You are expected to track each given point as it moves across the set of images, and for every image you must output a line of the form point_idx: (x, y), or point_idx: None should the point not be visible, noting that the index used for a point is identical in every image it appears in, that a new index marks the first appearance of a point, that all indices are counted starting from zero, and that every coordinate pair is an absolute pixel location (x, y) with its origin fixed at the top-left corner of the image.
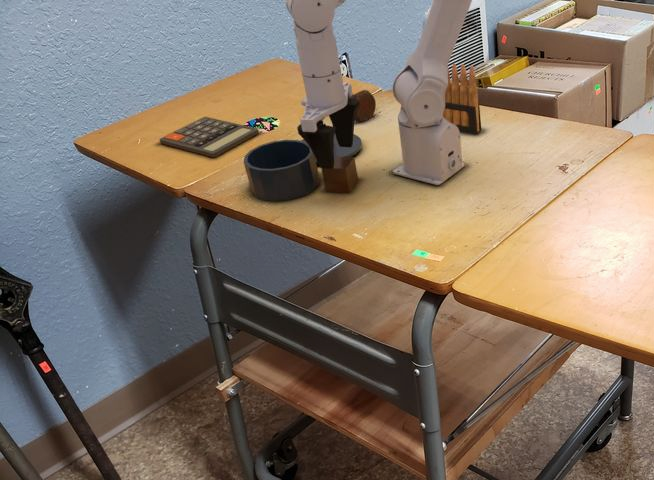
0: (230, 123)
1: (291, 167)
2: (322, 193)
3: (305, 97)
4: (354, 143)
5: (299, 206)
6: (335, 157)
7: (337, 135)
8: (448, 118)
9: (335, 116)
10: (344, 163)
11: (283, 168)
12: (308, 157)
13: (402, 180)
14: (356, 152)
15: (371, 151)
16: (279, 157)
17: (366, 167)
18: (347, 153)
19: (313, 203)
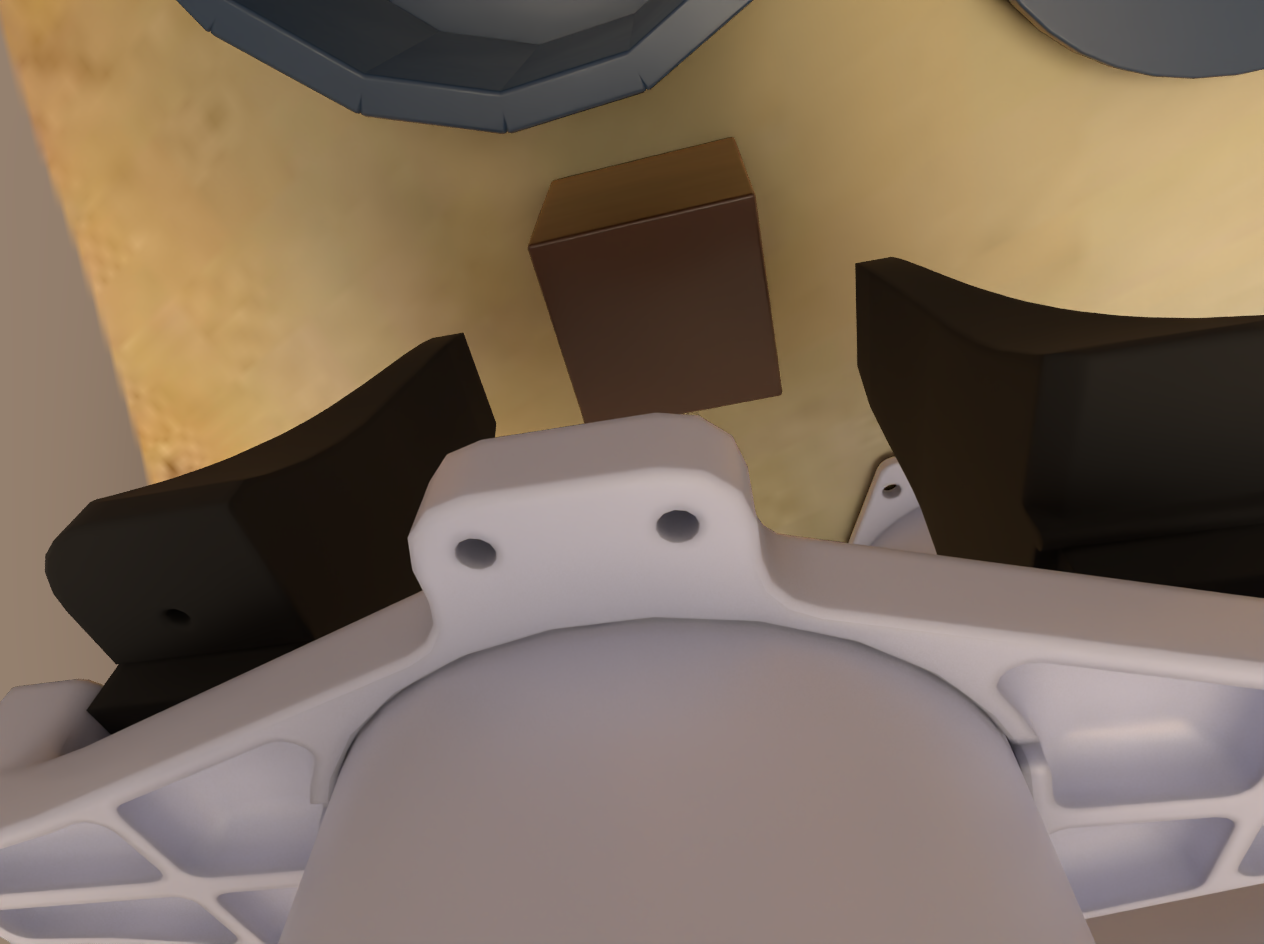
0: None
1: (274, 67)
2: (519, 173)
3: (676, 493)
4: None
5: (294, 125)
6: (738, 254)
7: (890, 303)
8: None
9: (967, 430)
10: (663, 380)
11: (186, 4)
12: (524, 117)
13: (824, 519)
14: (1182, 75)
15: (1255, 139)
16: None
17: (961, 254)
18: (1127, 33)
19: (381, 198)
